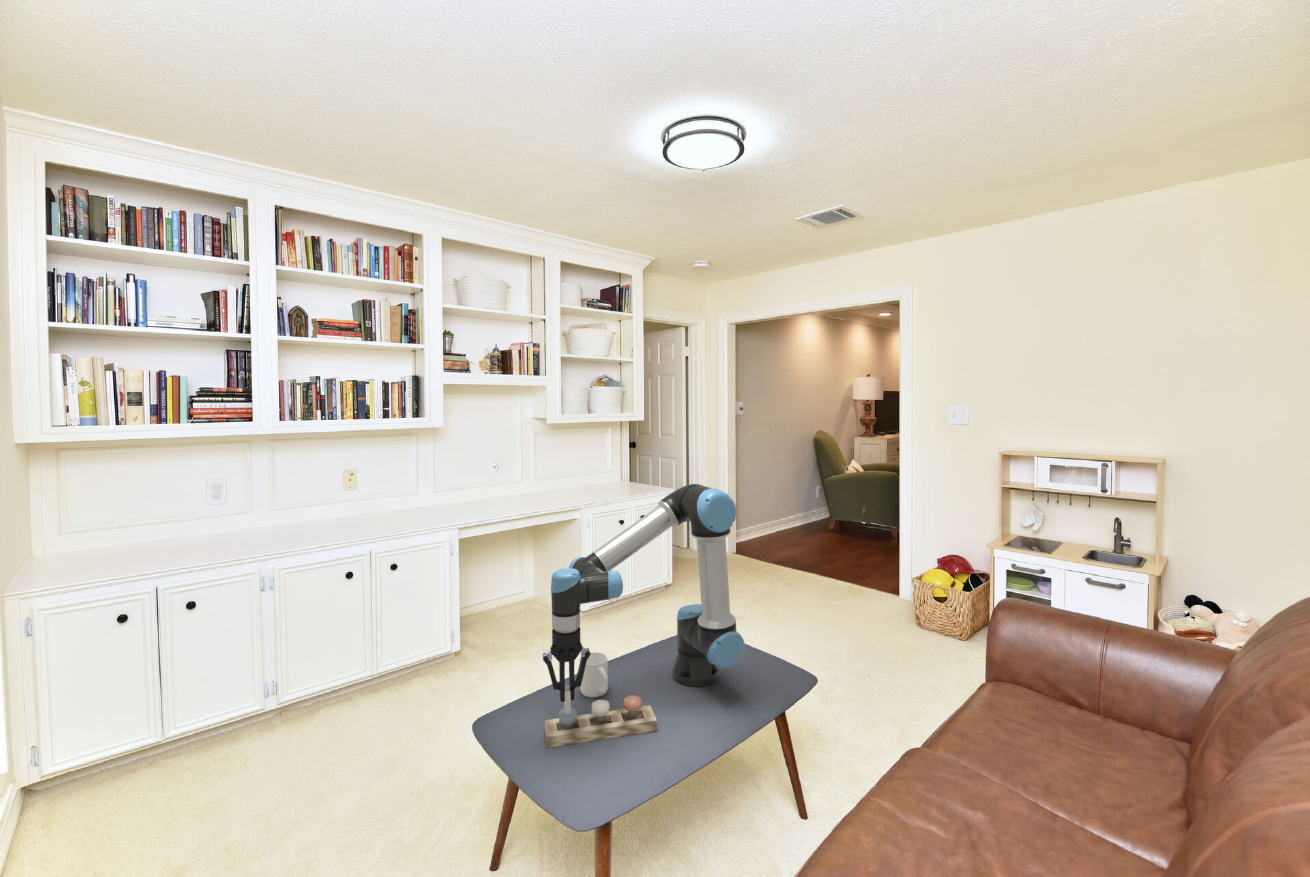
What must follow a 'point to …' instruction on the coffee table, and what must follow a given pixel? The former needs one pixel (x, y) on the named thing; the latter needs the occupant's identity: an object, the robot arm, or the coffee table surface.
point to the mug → (595, 675)
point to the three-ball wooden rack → (600, 727)
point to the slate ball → (567, 718)
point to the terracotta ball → (632, 705)
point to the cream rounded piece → (600, 710)
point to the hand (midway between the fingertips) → (567, 711)
